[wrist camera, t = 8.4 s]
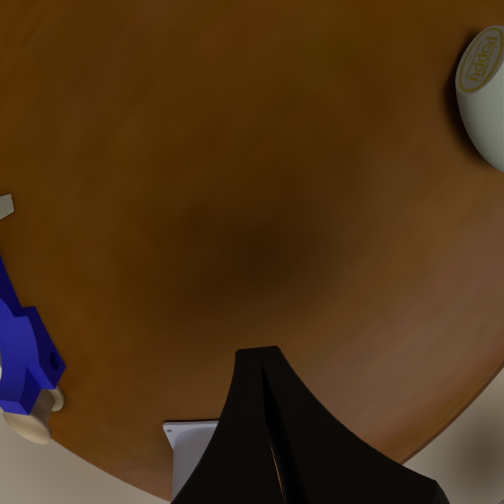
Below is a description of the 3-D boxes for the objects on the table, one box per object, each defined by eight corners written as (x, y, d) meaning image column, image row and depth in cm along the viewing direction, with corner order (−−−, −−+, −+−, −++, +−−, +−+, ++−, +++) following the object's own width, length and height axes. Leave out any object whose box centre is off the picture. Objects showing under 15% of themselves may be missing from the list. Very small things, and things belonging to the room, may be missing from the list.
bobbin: (72, 408, 24) (58, 447, 19) (35, 403, 23) (20, 438, 19) (52, 373, 22) (33, 414, 17) (14, 369, 21) (-6, 405, 17)
